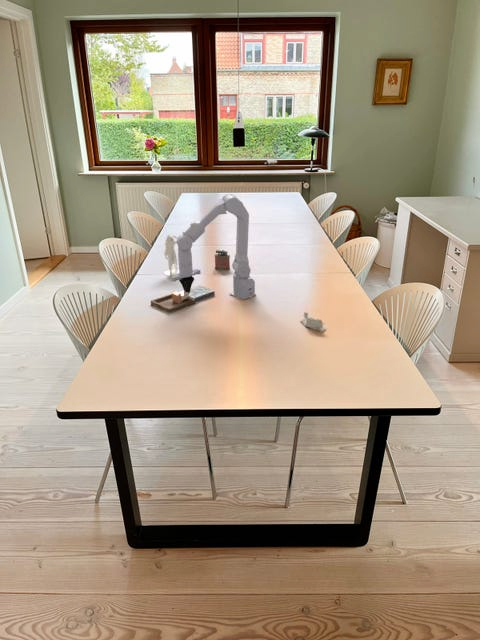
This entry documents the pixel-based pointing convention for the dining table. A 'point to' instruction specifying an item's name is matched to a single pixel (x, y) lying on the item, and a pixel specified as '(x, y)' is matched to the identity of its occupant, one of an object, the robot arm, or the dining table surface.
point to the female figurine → (171, 255)
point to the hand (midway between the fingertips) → (187, 293)
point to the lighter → (222, 260)
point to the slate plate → (200, 293)
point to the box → (171, 303)
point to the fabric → (313, 323)
